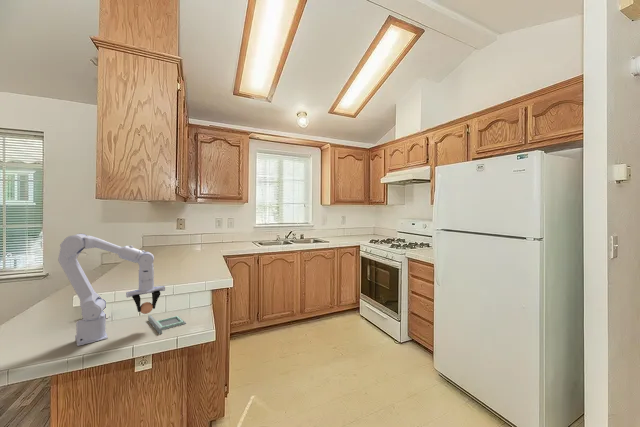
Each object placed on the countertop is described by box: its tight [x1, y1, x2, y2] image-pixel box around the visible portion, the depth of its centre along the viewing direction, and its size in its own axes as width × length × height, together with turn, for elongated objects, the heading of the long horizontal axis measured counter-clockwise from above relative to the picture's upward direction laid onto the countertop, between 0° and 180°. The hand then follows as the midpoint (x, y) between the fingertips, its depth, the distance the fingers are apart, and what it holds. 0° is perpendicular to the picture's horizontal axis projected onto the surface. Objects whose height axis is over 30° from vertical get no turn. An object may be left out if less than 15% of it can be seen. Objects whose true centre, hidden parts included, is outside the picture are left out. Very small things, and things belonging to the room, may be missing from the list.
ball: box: [139, 301, 154, 314], centre depth 120 cm, size 5×5×5 cm
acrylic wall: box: [147, 314, 163, 335], centre depth 123 cm, size 1×20×2 cm, turn 45°
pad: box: [156, 315, 187, 331], centre depth 127 cm, size 11×11×1 cm
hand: (146, 309), depth 120 cm, fingers closed on ball, 5 cm apart
